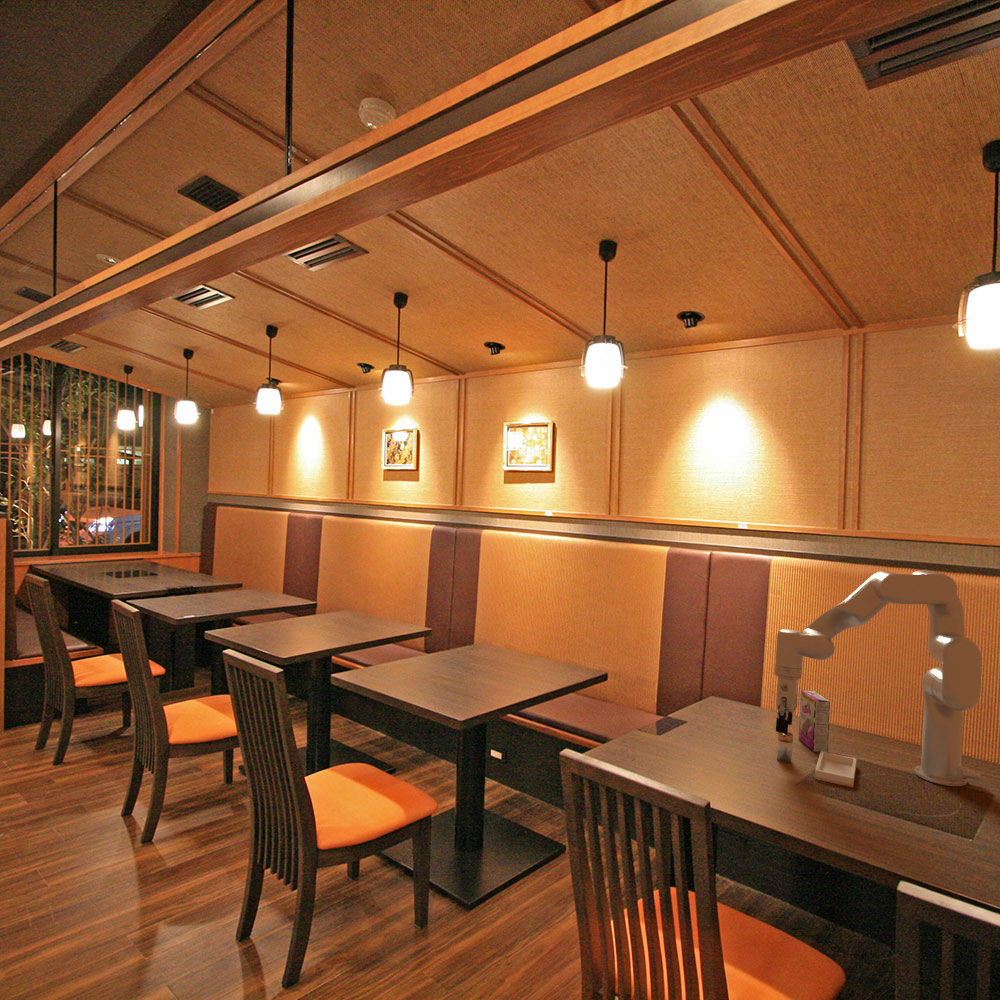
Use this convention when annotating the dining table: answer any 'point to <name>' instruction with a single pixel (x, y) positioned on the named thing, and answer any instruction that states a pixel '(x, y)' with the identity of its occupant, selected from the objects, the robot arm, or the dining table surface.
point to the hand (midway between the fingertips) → (783, 728)
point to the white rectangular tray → (836, 769)
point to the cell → (785, 747)
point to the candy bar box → (814, 720)
